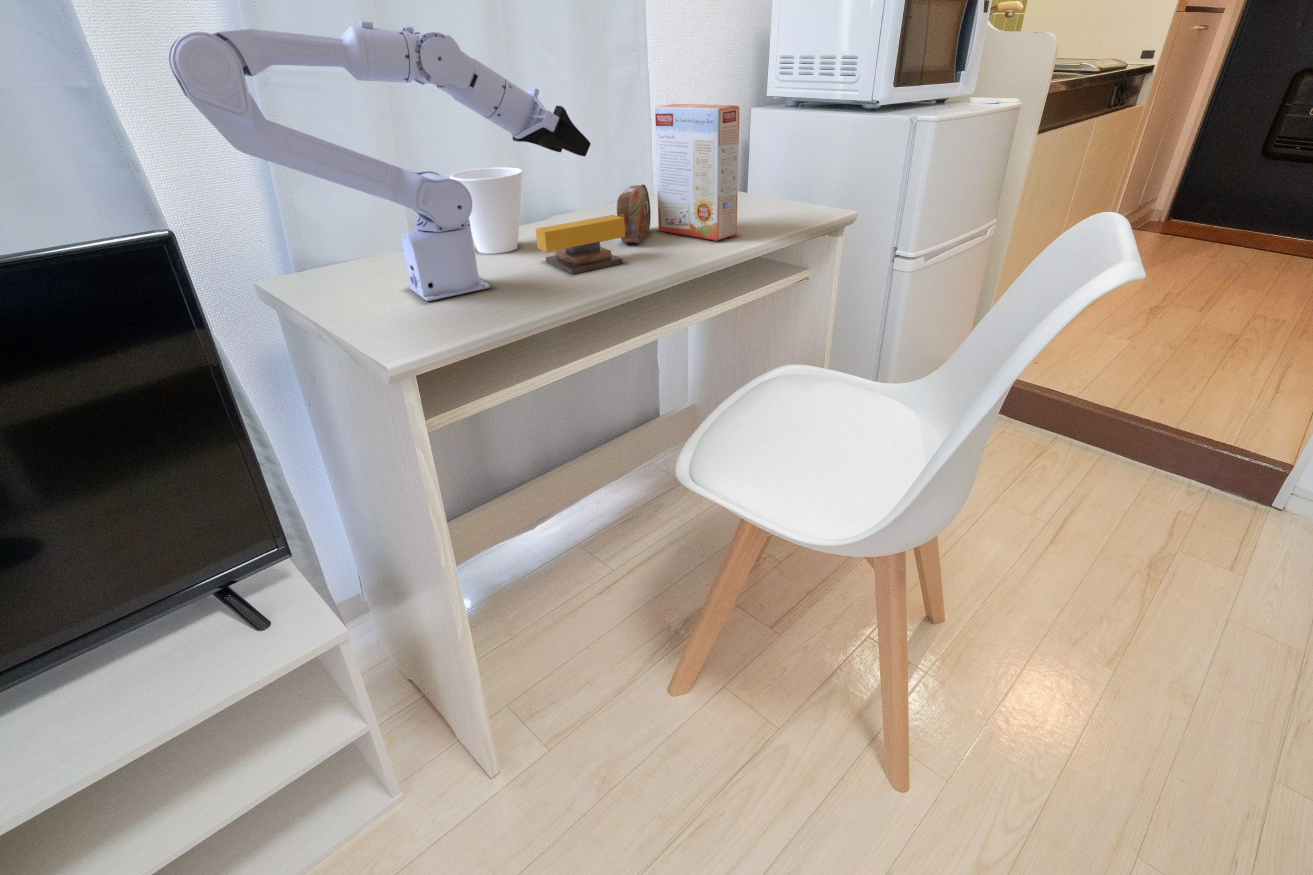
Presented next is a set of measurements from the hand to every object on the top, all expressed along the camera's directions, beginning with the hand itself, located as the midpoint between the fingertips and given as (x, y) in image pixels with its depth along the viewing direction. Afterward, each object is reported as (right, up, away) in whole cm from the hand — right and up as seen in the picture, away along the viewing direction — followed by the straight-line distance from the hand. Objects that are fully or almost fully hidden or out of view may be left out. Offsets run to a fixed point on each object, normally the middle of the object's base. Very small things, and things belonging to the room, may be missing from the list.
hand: (574, 148), depth 103 cm
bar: (0, -12, +6) cm, 14 cm away
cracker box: (+19, -6, +22) cm, 30 cm away
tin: (+8, -8, +21) cm, 24 cm away
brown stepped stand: (+1, -15, +8) cm, 17 cm away
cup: (-15, -10, +18) cm, 25 cm away
